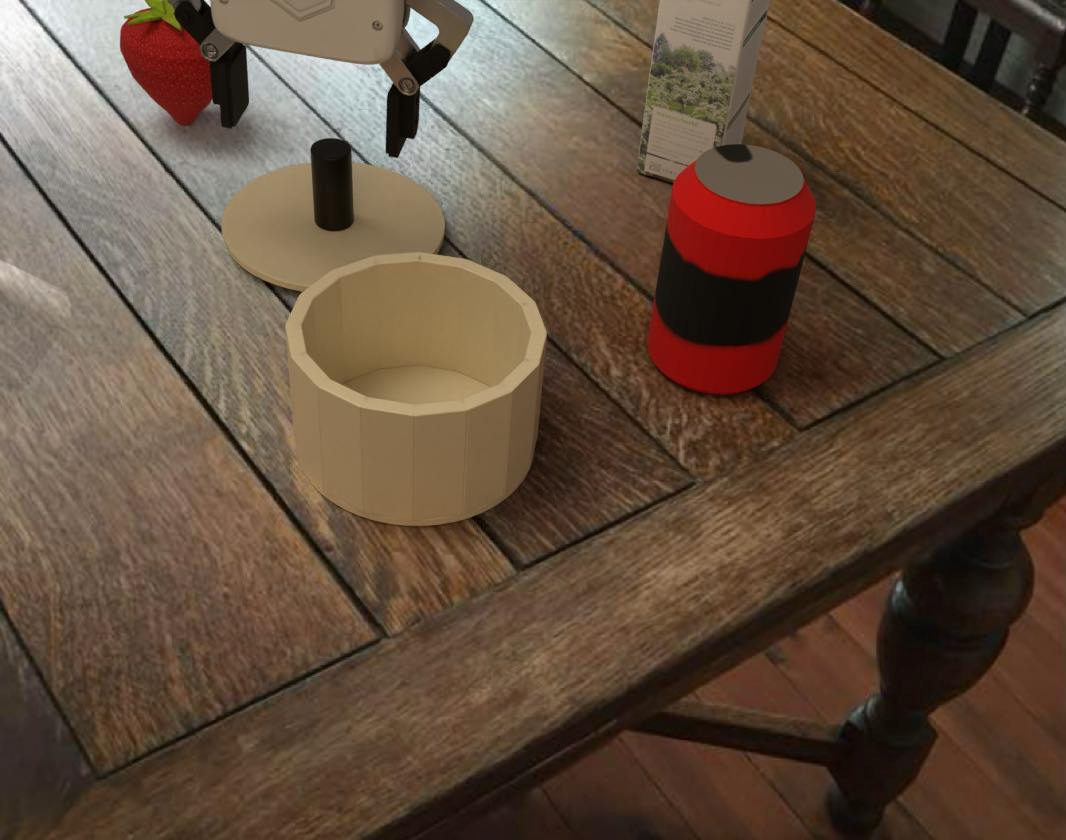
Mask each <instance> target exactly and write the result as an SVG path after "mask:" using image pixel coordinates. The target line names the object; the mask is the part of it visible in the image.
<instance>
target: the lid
mask: <svg viewBox="0 0 1066 840" xmlns="http://www.w3.org/2000/svg"><path fill="white" fill-rule="evenodd" d="M309 151H310V162H304V163H299V164H294V165H293V164H292V165H290V166H284V167H281V168H279V169H275V170H273V171H269V172H267V173H265V174H262V175H261V176H259V177H257V178H255V179H253V180H252V181H249V182H248V183H247V184H246V185H244V186H243V187H241V188H240V189H239V190H237V192H236V193H235V194H234V195H233V196H232V197H231V198H230V199H229V201H228V202H227V204H226V206H225V208H224V211H223V213H222V217H221V223H220V224H221V236H222V240H223V244H224V246H225V248H226V249H227V252H228V254H229V255H230V256H231V257H232V258H233V260H234V261H235V262H236V263H237V264H238V265H239V266H240V267H241V268H243V269H244V270H246V271H247V273H248V272H249V274H251V275H253V276H255V277H257V278H259V279H260V280H262V281H265V282H267V283H270V284H272V285H275V286H277V287H281V288H284V289H287V290H292V291H296V292H301V293H302V292H303V291H305V290H306V289H307V288H308V287H310V286H311V285H312V284H314V283H315V282H316V281H317V280H319V279H320V278H321V277H323V276H324V275H325V274H327V273H328V272H329V271H331V270H333V269H336V268H339V267H342V266H345V265H348V264H351V263H354V262H357V261H359V260H362V259H365V258H368V257H372V256H375V255H388V254H400V253H412V252H423V253H429V254H436V255H438V254H439V252H440V250H441V248H442V246H443V244H444V239H445V234H446V221H445V216H444V212H443V210H442V208H441V206H440V204H439V202H438V201H437V200H436V198H435V197H434V196H433V195H432V194H431V193H430V192H429V191H428V189H426V188H425V187H423V186H422V185H421V184H419V183H418V182H416V181H415V180H413V179H411V178H409V177H407V176H405V175H403V174H401V173H399V172H397V171H393V170H391V169H389V168H384V167H380V166H378V165H372V164H367V163H362V162H353V152H352V151H353V150H352V146H351V145H350V143H348V142H347V141H346V140H344V139H340V138H336V137H328V138H327V137H326V138H321V139H319V140H316V141H314V142H313V143H312V144H311V146H310V150H309Z"/></svg>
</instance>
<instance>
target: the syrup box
mask: <svg viewBox="0 0 1066 840" xmlns="http://www.w3.org/2000/svg"><path fill="white" fill-rule="evenodd" d="M770 3H771V0H659V2H658V4H659V5H658V11H657V19H656V24H655V25H656V26H655V27H656V28H655V33H654V40H653V47H652V53H651V54H652V55H651V61H650V68H649V74H648V75H649V76H648V82H647V88H646V89H647V90H646V97H645V106H644V113H643V120H642V126H641V133H640V142H639V149H638V155H637V162H636V163H637V164H636V172H637V173H638V174H642V175H645V176H649V177H652V178H655V179H659V180H661V181H665V182H668V183H671V184H673V183H674V180H675V179H676V177H677V176H678V174H679V173H681V172H682V171H683V170H684V169H685V168H687V167H688V166H689V165H690V164H692V163H693V162H694V161H696V160H697V159H698V157H699V156H700V155H701V154H703V153H704V152H706V151H707V150H709V149H712V148H715V147H718V146H723V145H731V144H743V138H744V133H745V126H746V120H747V115H748V111H749V110H748V109H749V105H750V99H751V94H752V89H753V85H754V80H755V75H756V70H757V65H758V60H759V56H760V50H761V46H762V42H763V36H764V34H765V33H764V32H765V27H766V24H767V22H766V21H767V18H768V12H769V8H770Z"/></svg>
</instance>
